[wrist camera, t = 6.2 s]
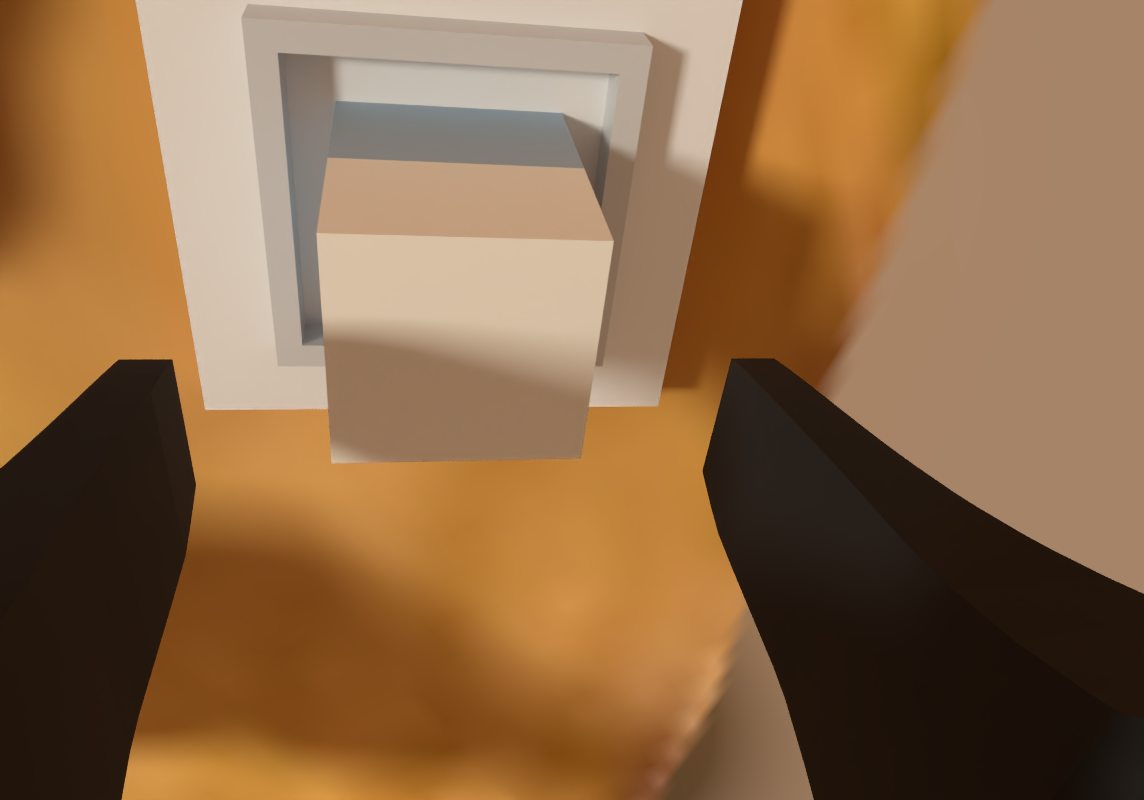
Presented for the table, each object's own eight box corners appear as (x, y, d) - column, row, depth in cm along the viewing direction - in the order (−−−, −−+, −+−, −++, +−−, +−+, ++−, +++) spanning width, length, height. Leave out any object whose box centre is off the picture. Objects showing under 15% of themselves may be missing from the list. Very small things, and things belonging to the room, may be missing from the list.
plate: (646, 375, 22) (665, 427, 20) (213, 377, 20) (199, 433, 19) (735, -80, 16) (772, -56, 14) (132, -140, 14) (100, -119, 13)
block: (542, 301, 19) (581, 458, 15) (345, 298, 18) (331, 463, 14) (561, 112, 16) (614, 241, 13) (336, 100, 16) (316, 232, 12)
